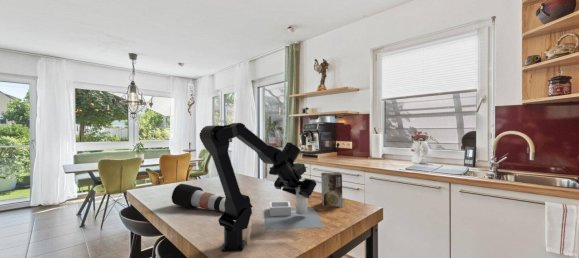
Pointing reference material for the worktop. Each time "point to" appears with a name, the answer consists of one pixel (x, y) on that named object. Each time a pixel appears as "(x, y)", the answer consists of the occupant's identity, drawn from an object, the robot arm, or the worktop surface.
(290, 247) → the worktop surface
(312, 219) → the board
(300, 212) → the white cylindrical bottle
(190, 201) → the telephoto camera lens
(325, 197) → the coffee box
